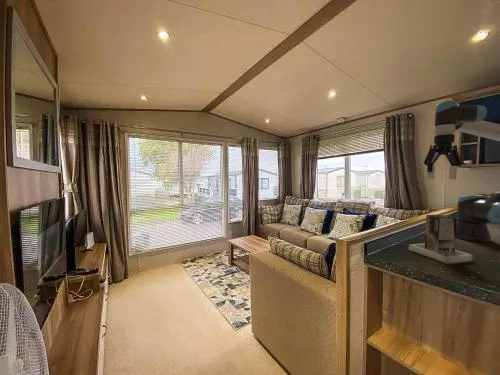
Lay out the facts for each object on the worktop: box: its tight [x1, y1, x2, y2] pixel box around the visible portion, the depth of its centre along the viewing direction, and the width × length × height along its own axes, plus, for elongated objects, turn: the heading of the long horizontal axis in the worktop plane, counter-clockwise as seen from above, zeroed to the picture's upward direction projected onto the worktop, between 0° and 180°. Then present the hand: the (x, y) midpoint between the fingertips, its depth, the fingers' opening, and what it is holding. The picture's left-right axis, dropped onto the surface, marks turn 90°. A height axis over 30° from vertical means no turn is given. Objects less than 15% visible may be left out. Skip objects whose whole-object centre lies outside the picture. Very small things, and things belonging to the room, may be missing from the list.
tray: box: [408, 242, 474, 265], centre depth 95 cm, size 13×16×2 cm
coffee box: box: [424, 214, 457, 256], centre depth 94 cm, size 9×6×16 cm
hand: (441, 179), depth 109 cm, fingers open, 13 cm apart
